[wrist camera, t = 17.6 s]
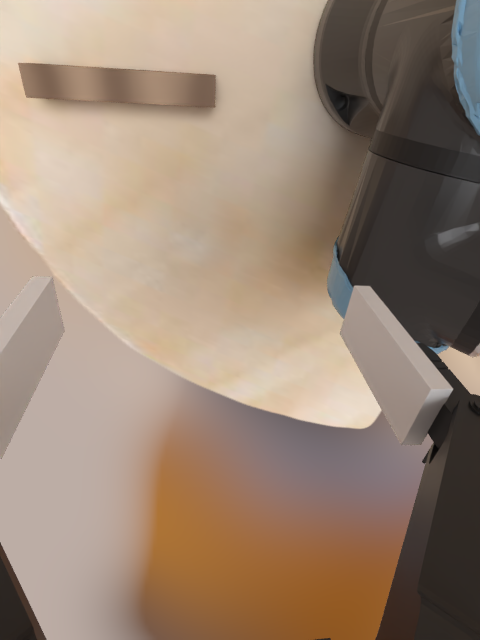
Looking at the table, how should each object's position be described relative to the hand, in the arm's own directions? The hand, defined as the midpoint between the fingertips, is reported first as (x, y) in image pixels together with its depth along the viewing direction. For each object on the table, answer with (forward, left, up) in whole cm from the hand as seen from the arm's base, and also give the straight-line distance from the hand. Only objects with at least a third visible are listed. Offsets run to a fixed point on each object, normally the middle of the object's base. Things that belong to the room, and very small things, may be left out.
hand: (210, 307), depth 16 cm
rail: (+7, -7, -29) cm, 31 cm away
